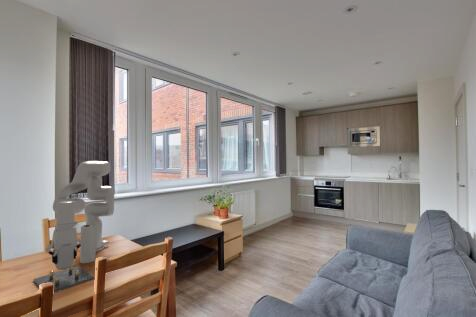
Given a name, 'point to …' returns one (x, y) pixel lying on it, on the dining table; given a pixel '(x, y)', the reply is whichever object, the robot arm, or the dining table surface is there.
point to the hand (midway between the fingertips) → (64, 260)
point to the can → (65, 257)
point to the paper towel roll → (88, 244)
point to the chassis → (65, 278)
